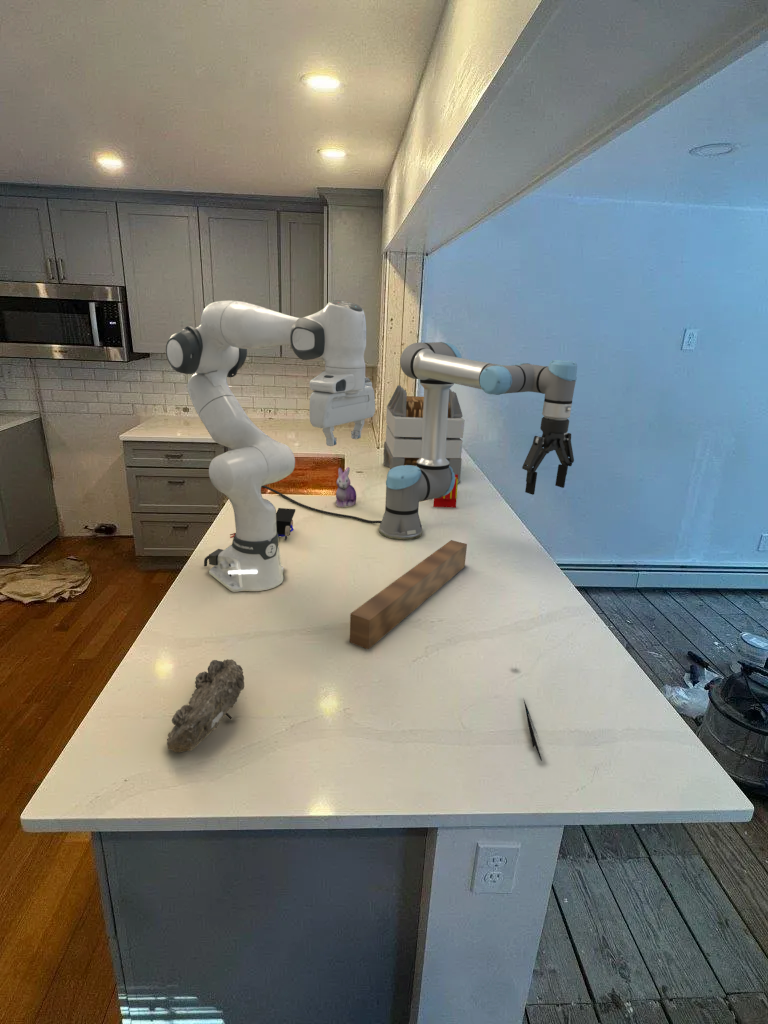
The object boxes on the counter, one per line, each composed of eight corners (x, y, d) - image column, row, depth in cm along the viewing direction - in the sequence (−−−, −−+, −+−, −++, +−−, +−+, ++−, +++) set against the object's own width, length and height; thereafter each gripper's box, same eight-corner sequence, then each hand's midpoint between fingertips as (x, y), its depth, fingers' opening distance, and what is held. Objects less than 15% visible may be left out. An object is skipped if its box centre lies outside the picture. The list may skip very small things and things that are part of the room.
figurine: (339, 509, 221) (340, 472, 216) (329, 501, 229) (330, 465, 224) (361, 506, 225) (362, 470, 220) (351, 498, 234) (352, 463, 228)
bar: (449, 562, 179) (451, 539, 176) (464, 566, 176) (467, 543, 174) (349, 642, 134) (350, 613, 132) (368, 649, 132) (369, 620, 129)
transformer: (382, 463, 289) (386, 382, 275) (445, 464, 293) (451, 384, 279) (390, 482, 257) (394, 392, 243) (460, 483, 261) (468, 394, 247)
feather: (515, 674, 127) (521, 668, 126) (541, 765, 100) (548, 758, 100) (509, 670, 127) (514, 664, 126) (533, 761, 100) (540, 753, 99)
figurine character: (291, 546, 188) (296, 525, 202) (290, 526, 185) (296, 506, 198) (270, 546, 188) (277, 525, 201) (269, 526, 185) (276, 506, 198)
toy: (451, 465, 253) (462, 475, 223) (449, 495, 256) (460, 508, 226) (424, 465, 252) (431, 474, 223) (422, 494, 255) (429, 507, 226)
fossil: (192, 660, 117) (244, 628, 112) (224, 691, 120) (276, 661, 115) (142, 746, 98) (202, 712, 93) (182, 779, 101) (242, 748, 96)
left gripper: (360, 375, 134) (358, 432, 139) (304, 382, 118) (304, 447, 122) (382, 377, 131) (380, 436, 136) (328, 385, 115) (327, 452, 119)
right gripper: (537, 423, 149) (526, 500, 156) (594, 416, 163) (581, 487, 170) (515, 418, 154) (506, 492, 162) (572, 412, 168) (561, 480, 176)
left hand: (344, 441), depth 129 cm, fingers open, 8 cm apart
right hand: (545, 489), depth 166 cm, fingers open, 13 cm apart
